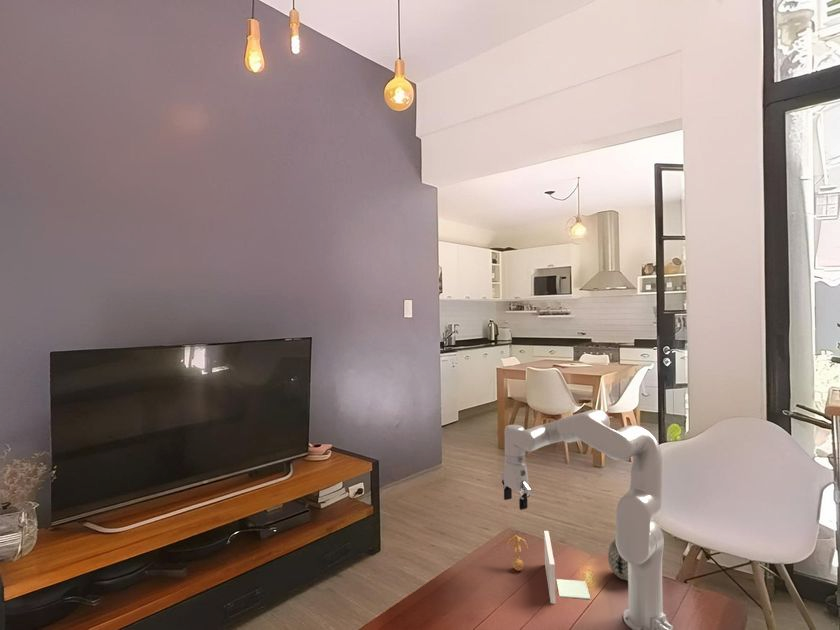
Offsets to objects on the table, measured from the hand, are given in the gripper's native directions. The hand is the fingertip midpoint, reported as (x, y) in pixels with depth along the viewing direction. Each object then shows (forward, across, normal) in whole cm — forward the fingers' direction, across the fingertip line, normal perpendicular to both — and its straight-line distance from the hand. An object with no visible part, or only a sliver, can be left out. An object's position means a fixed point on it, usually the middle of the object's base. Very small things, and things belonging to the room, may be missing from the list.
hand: (515, 503), depth 178 cm
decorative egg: (+24, -24, -30) cm, 45 cm away
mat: (+24, -20, -9) cm, 33 cm away
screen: (+24, -14, -5) cm, 28 cm away
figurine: (+24, -1, 0) cm, 24 cm away
